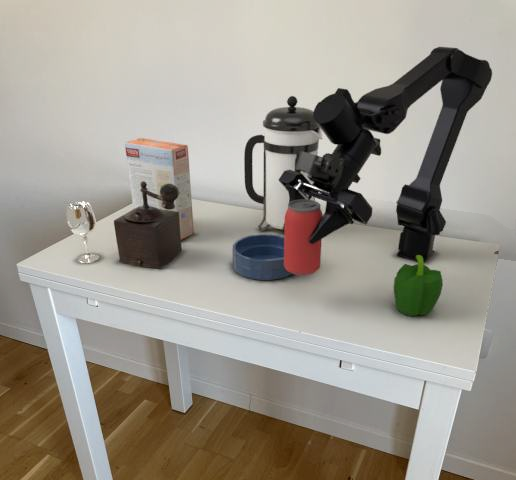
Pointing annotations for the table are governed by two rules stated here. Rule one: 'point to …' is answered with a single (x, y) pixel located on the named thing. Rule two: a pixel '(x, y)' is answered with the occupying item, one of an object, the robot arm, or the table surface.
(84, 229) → the wineglass
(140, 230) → the manual coffee grinder
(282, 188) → the coffee press
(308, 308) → the table surface
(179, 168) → the cracker box
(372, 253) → the table surface
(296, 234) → the beer can
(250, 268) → the bowl
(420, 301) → the bell pepper
